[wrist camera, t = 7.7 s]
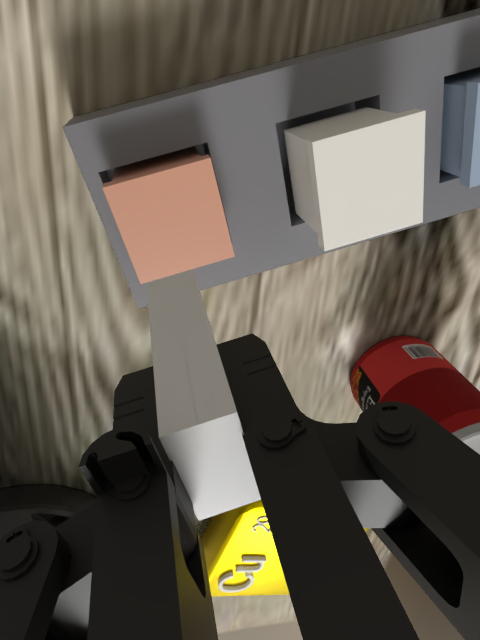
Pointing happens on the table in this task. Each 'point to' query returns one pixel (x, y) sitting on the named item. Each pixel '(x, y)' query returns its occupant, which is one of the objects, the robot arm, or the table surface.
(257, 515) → the element tile
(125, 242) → the terracotta key
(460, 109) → the slate blue key
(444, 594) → the robot arm
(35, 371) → the table surface
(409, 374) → the canned food
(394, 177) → the white key
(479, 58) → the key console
